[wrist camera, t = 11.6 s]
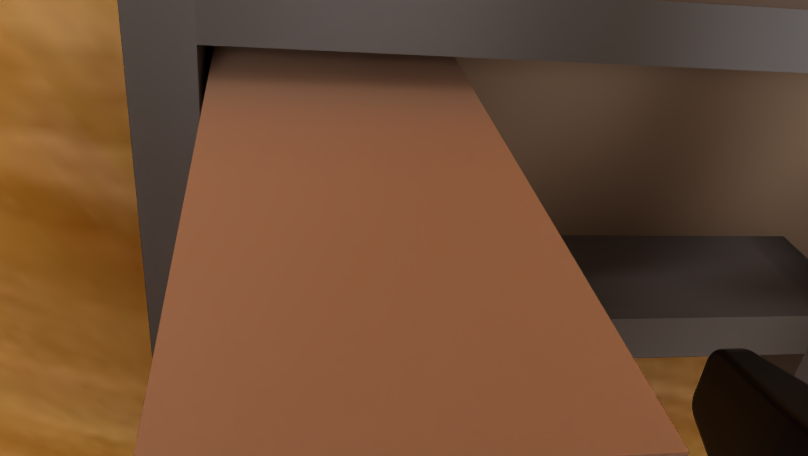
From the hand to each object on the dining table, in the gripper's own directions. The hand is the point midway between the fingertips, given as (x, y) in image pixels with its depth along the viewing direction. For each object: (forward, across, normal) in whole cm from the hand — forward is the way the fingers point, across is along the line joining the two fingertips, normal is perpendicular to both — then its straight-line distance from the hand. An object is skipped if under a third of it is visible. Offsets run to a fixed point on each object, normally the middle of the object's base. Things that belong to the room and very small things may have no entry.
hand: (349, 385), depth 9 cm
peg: (+7, 0, 0) cm, 7 cm away
